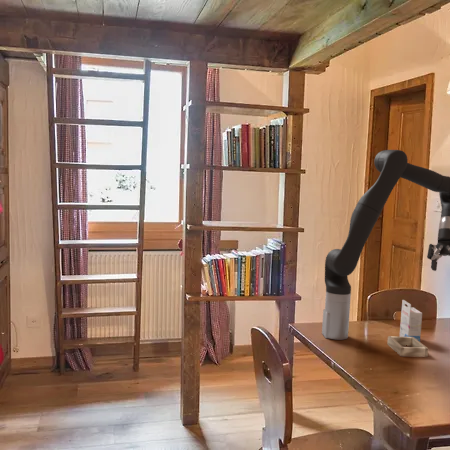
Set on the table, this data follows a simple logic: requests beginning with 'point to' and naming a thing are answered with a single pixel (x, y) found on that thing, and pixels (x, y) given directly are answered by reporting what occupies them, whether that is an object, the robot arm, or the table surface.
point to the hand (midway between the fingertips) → (444, 270)
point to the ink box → (410, 322)
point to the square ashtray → (413, 351)
